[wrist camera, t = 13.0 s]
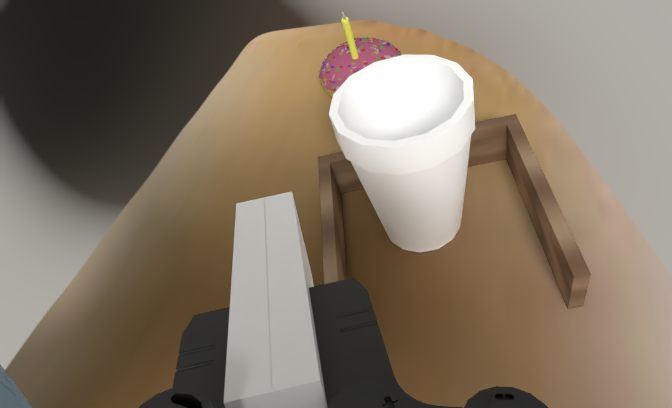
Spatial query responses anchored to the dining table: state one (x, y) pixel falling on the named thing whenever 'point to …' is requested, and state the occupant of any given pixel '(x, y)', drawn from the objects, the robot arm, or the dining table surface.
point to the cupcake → (352, 58)
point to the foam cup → (409, 144)
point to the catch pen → (486, 146)
